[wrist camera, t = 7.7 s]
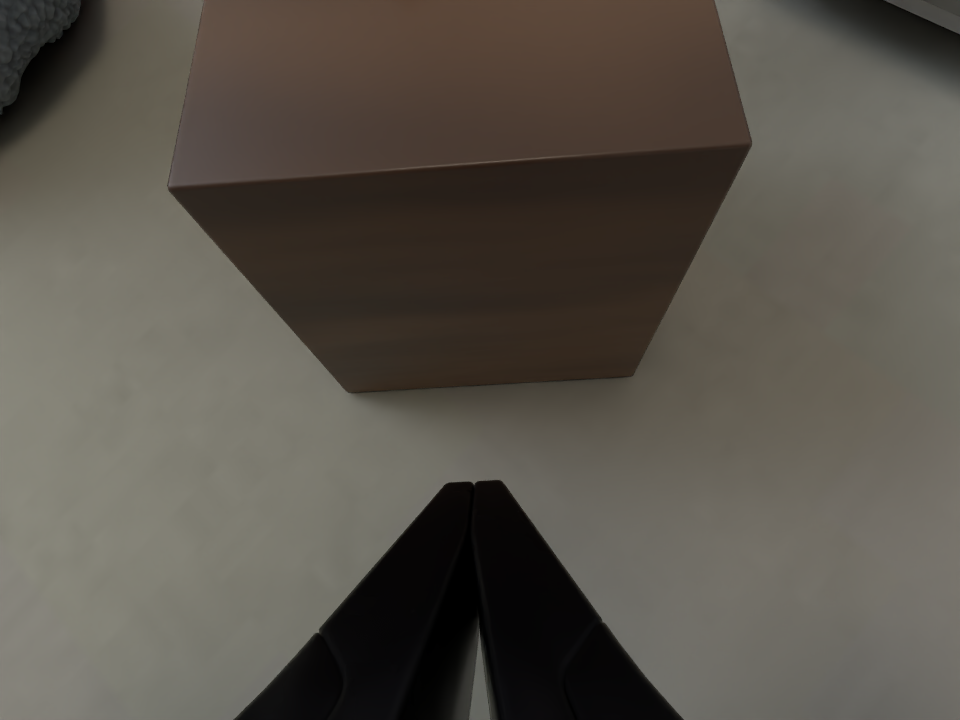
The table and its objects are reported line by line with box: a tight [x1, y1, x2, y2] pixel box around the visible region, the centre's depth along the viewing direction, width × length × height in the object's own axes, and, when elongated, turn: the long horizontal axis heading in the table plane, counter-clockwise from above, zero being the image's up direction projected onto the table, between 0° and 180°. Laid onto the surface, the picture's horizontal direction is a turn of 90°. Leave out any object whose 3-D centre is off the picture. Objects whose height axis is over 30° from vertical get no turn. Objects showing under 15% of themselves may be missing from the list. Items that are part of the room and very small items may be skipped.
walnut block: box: [167, 0, 752, 392], centre depth 13 cm, size 8×8×9 cm
